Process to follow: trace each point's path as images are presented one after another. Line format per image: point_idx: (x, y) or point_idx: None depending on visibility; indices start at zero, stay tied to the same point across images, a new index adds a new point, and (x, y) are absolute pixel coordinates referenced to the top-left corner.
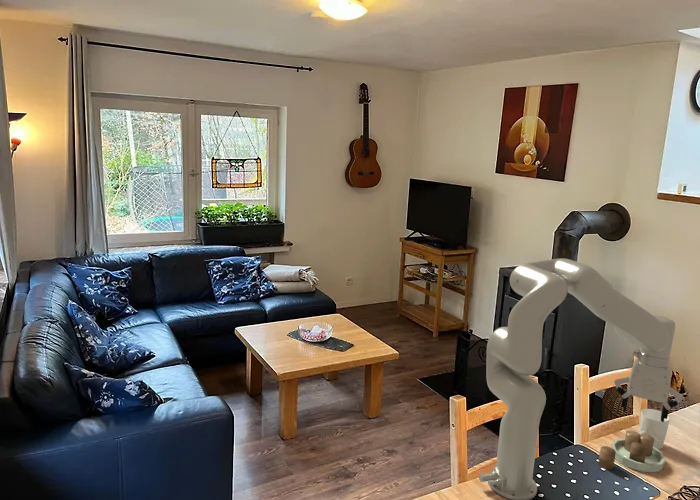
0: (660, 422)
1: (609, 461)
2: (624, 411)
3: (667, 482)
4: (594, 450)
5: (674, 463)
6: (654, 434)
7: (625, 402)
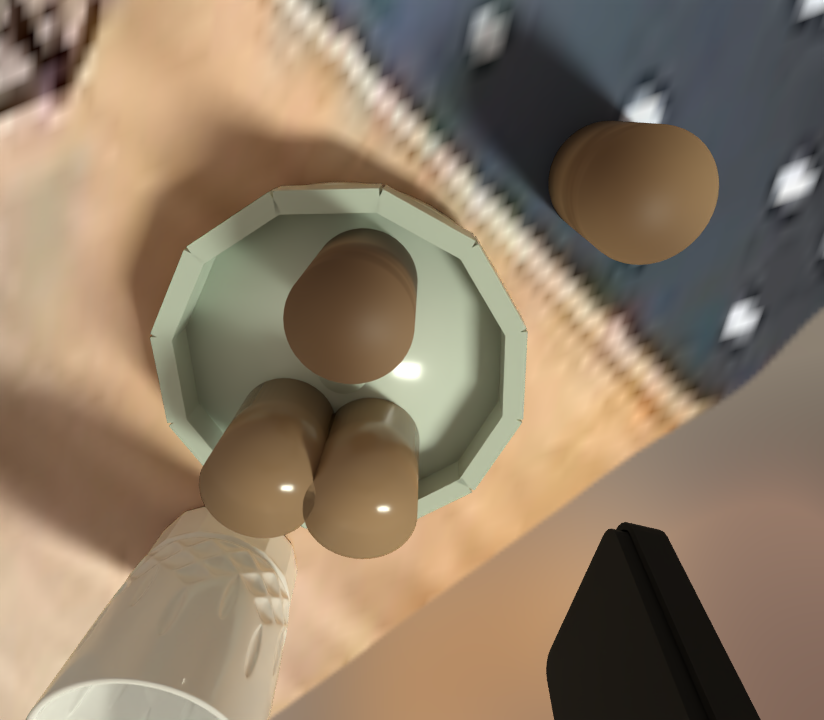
0: (106, 668)
1: (621, 124)
2: (637, 527)
3: (177, 90)
4: (629, 365)
5: (106, 377)
6: (189, 578)
7: (737, 712)
